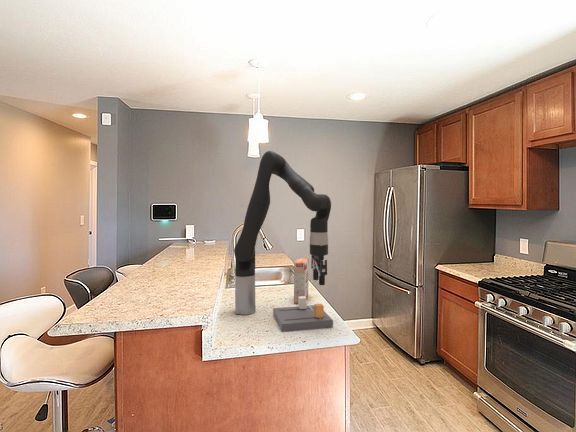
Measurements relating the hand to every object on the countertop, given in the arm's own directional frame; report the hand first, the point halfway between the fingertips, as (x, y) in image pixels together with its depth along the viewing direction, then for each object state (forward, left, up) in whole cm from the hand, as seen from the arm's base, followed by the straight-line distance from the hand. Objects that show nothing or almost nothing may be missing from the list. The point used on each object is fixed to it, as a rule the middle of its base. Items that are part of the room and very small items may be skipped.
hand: (318, 282), depth 132 cm
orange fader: (0, 0, -14) cm, 14 cm away
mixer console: (-6, +6, -18) cm, 20 cm away
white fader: (-4, +12, -14) cm, 19 cm away
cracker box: (+2, +35, -18) cm, 39 cm away
